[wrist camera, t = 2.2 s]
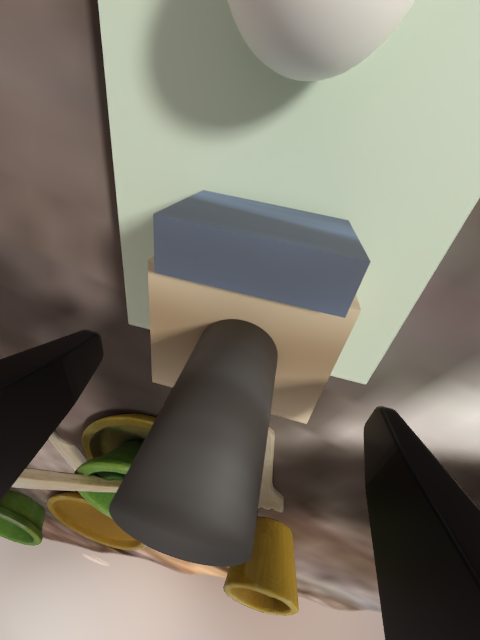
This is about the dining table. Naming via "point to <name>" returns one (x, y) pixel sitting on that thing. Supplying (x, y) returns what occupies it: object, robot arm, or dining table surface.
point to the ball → (316, 33)
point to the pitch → (299, 142)
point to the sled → (232, 362)
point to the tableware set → (97, 524)
